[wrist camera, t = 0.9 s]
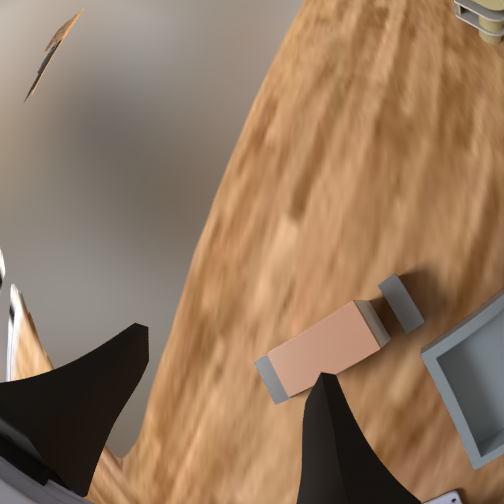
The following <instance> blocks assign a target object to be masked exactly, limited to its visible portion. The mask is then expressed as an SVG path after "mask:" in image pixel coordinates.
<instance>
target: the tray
mask: <svg viewBox="0 0 504 504" xmlns="http://www.w3.org/2000/svg"><path fill="white" fill-rule="evenodd" d="M420 355H421V357H422V359H423V361H424V363H425V365H426V367H427V368H428V370H429V372H430V374H431V376H432V378H433V380H434V382H435V384H436V386H437V388H438V390H439V392H440V394H441V396H442V398H443V400H444V402H445V405H446V407H447V409H448V411H449V413H450V415H451V417H452V420H453V422H454V424H455V426H456V428H457V431H458V433H459V435H460V437H461V440H462V442H463V444H464V447H465V449H466V452H467V454H468V456H469V459H470V461H471V464H472V466H473V469H474V471H475V470H476V469H478V468H480V467H482V466H484V465H485V464H487V463H489V462H490V461H492V460H494V459H495V458H497V457H499V456H500V455H502V454H503V453H504V288H503V289H501V290H500V291H499V292H498V293H497V294H495V295H494V296H493V297H492V298H491V299H489V300H488V301H487V302H486V303H484V304H483V305H482V306H481V307H479V308H478V309H477V310H475V311H474V312H473V313H471V314H470V315H469V316H467V317H466V318H465V319H463V320H462V321H461V322H459V323H458V324H457V325H455V326H454V327H452V328H451V329H450V330H448V331H447V332H445V333H444V334H442V335H441V336H439V337H438V338H436V339H435V340H434V341H432V342H431V343H429V344H427V345H426V346H424V347H423V348H421V354H420Z"/></svg>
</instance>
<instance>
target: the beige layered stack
mask: <svg viewBox="0 0 504 504" xmlns="http://www.w3.org/2000/svg"><path fill="white" fill-rule="evenodd" d="M454 2H455V3H456V5H454V6H455V12H456V16H457V17H458V18H460V19H461V20H463V21H465V22H467V23H469V24H470V25H472V26H474V27H476V28H477V29H479V35H480V37H481V38H482V39H483V40H484V41H486V42H487V43H490V44H499V43H500V42H501V37H502V36H504V0H454Z"/></svg>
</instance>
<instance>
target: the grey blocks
mask: <svg viewBox="0 0 504 504" xmlns="http://www.w3.org/2000/svg"><path fill="white" fill-rule="evenodd" d="M378 286H379V288H380V290H381V291H382V293H383V295H384V296H385V298H386V300H387V301H388V303H389V305H390V306H391V308H392V310H393V311H394V313H395V315H396V317H397V318H398V320H399V322H400V324H401V325H402V327H403V329H404V331H405V332H406V334H408V333H410V332H411V331H413V330H414V329H416V328H417V327H419V326H420V325H422V324H423V323H425V319H424V317H423V316H422V314H421V312H420V310H419V309H418V307H417V305H416V304H415V302H414V300H413V299H412V297H411V295H410V294H409V292H408V290H407V289H406V287H405V285H404V284H403V282H402V280H401V279H400V277H399V276H398V275H397V274H396V273H395V274H393V275H392V276H391V277H389V278H388V279H386V280H385V281H384V282H382V283H381V284H379V285H378ZM254 363H255V365H256V367H257V369H258V371H259V373H260V375H261V377H262V379H263V381H264V383H265V385H266V387H267V389H268V391H269V393H270V395H271V397H272V399H273V401H274V403H275V405H277V404H279V403H281V402H283V401H286V400H288V399H290V398H292V397H294V396H295V395H297V394H299V393H300V392H299V393H297V394H295V395H293V396H291V397H288V395H287V393H286V391H285V389H284V387H283V385H282V383H281V382H280V380H279V378H278V376H277V374H276V372H275V370H274V368H273V366H272V364H271V362H270V360H269V358H268V356H267V355H266V356H264V357H262V358H260V359H259V360H257V361H255V362H254Z"/></svg>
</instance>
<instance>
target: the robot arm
mask: <svg viewBox="0 0 504 504" xmlns="http://www.w3.org/2000/svg"><path fill="white" fill-rule="evenodd" d="M148 344H149V343H148V327H146V326H143V325H140V324H137V323H134V324H132V325H131V326H129V327H128V328H127V329H125V330H123V331H122V332H121V333H119V334H118V335H116V336H115V337H113V338H112V339H110V340H109V341H107V342H106V343H104V344H102V345H101V346H99V347H98V348H96V349H94V350H93V351H91V352H89V353H88V354H86V355H84V356H82V357H80V358H79V359H77V360H75V361H73V362H71V363H68V364H66V365H64V366H62V367H59V368H57V369H54V370H52V371H49V372H46V373H43V374H40V375H37V376H33V377H29V378H25V379H21V380H16V381H10V382H3V383H0V504H94V503H92V502H90V501H88V500H86V499H84V498H82V497H86V496H87V494H88V491H89V487H90V484H91V481H92V478H93V474H94V472H95V469H96V466H97V463H98V460H99V458H100V455H101V453H102V450H103V448H104V445H105V443H106V440H107V438H108V436H109V434H110V431H111V429H112V427H113V425H114V423H115V421H116V419H117V417H118V416H119V414H120V412H121V411H122V409H123V408H124V406H125V404H126V403H127V401H128V399H129V398H130V396H131V395H132V393H133V391H134V390H135V388H136V386H137V385H138V383H139V381H140V380H141V378H142V375H143V373H144V371H145V369H146V366H147V364H148V362H149V345H148ZM452 499H456V500H454V501H452ZM297 504H421V501H419V500H418V499H417V498H416V497H415V496H414V495H412V494H411V493H410V492H409V491H408V490H407V489H405V488H404V487H403V486H402V485H401V484H400V483H399V482H398V481H397V480H396V479H395V478H394V476H393V475H392V474H391V473H390V472H389V471H388V469H387V468H386V467H385V466H384V465H383V463H382V462H381V461H380V460H379V458H378V457H377V455H376V454H375V453H374V451H373V450H372V448H371V447H370V445H369V444H368V442H367V440H366V439H365V437H364V435H363V433H362V432H361V430H360V428H359V426H358V424H357V422H356V420H355V418H354V416H353V414H352V412H351V410H350V408H349V405H348V403H347V401H346V399H345V396H344V394H343V391H342V389H341V387H340V384H339V382H338V379H337V377H336V375H335V374H331V373H325V372H321V373H320V375H319V377H318V379H317V381H316V383H315V385H314V387H313V389H312V391H311V393H310V394H309V396H308V398H307V400H306V403H305V410H304V417H303V434H302V472H301V481H300V487H299V493H298V499H297ZM423 504H462V502H461V499H460V497H459V494H458V492H457V491H451V492H449V493H447V494H444V495H442V496H440V497H437V498H435V499H433V500H430V501H428V502H426V503H423Z"/></svg>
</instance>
